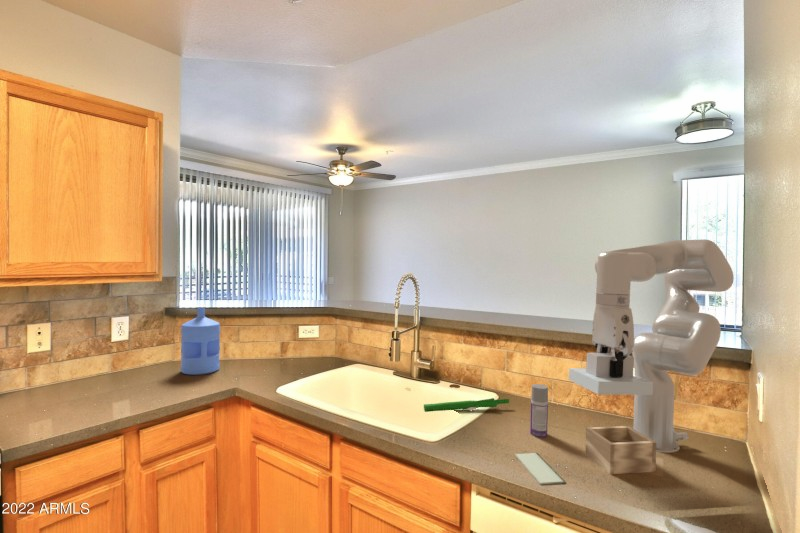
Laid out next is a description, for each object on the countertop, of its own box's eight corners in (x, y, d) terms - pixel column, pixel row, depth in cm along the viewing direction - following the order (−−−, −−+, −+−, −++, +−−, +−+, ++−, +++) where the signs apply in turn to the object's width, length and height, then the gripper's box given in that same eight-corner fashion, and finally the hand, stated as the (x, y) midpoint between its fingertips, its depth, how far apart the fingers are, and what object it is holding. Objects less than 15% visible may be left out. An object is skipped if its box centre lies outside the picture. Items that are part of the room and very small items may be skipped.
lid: (617, 380, 109) (619, 350, 109) (652, 394, 97) (654, 361, 97) (568, 379, 107) (570, 349, 107) (598, 394, 95) (599, 360, 95)
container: (533, 432, 123) (535, 382, 122) (549, 437, 120) (550, 386, 119) (527, 437, 119) (528, 386, 119) (543, 442, 116) (545, 389, 116)
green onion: (425, 416, 137) (511, 409, 140) (425, 406, 137) (511, 399, 140) (423, 410, 141) (506, 404, 145) (422, 401, 141) (506, 394, 145)
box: (627, 455, 109) (628, 425, 109) (655, 475, 99) (656, 442, 99) (585, 457, 107) (586, 427, 107) (609, 478, 97) (610, 444, 97)
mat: (571, 452, 110) (571, 451, 110) (604, 480, 96) (604, 479, 96) (515, 455, 108) (515, 454, 108) (540, 484, 94) (540, 482, 94)
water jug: (177, 369, 184) (178, 307, 184) (214, 364, 194) (215, 305, 193) (184, 377, 172) (184, 311, 171) (223, 371, 181) (224, 308, 181)
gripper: (651, 304, 95) (648, 383, 95) (604, 298, 111) (601, 365, 111) (622, 304, 93) (618, 384, 93) (579, 297, 110) (576, 365, 110)
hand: (609, 373), depth 102 cm, fingers closed on lid, 4 cm apart
